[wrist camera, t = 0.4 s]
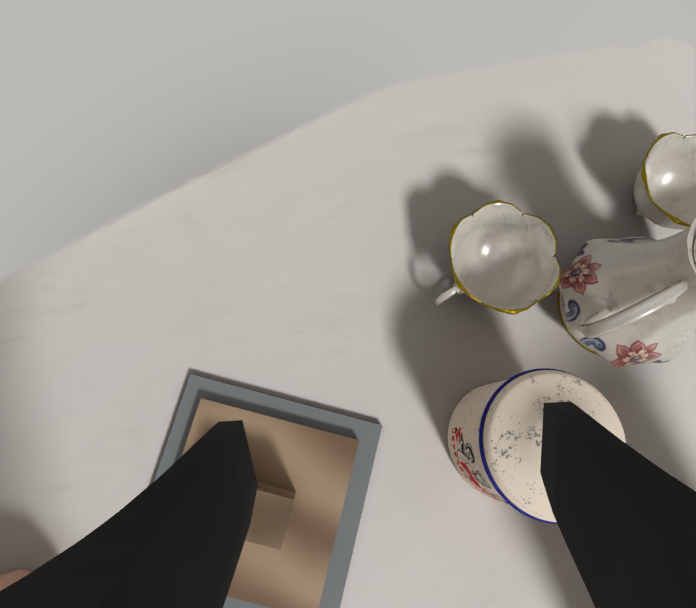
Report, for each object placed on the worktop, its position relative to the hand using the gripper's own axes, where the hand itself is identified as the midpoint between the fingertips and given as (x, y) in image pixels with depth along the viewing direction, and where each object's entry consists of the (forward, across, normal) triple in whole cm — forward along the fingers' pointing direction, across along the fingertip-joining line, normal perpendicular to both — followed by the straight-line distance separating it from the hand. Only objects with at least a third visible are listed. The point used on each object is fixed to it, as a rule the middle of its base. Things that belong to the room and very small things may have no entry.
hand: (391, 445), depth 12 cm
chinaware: (+31, -17, +9) cm, 37 cm away
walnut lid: (+17, +11, +18) cm, 27 cm away
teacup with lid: (+22, -8, +19) cm, 30 cm away
